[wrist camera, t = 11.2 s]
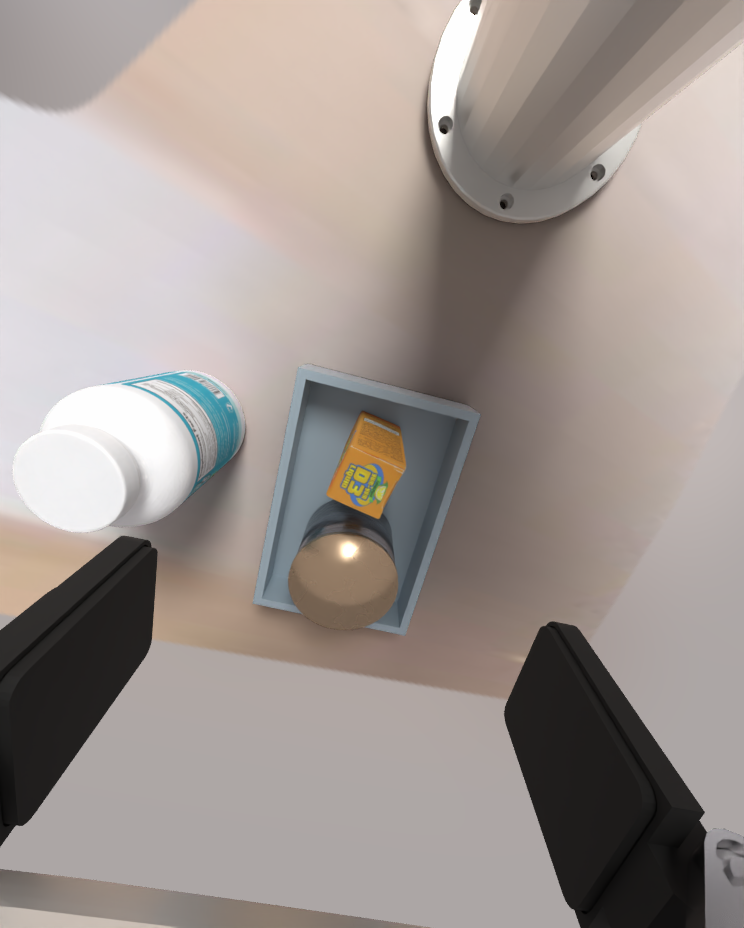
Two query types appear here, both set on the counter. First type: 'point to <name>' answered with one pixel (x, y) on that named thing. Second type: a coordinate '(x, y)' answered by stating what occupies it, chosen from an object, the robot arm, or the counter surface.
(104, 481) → the pill bottle
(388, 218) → the counter surface
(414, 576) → the tote
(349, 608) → the tin
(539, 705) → the robot arm
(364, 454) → the supplement box
